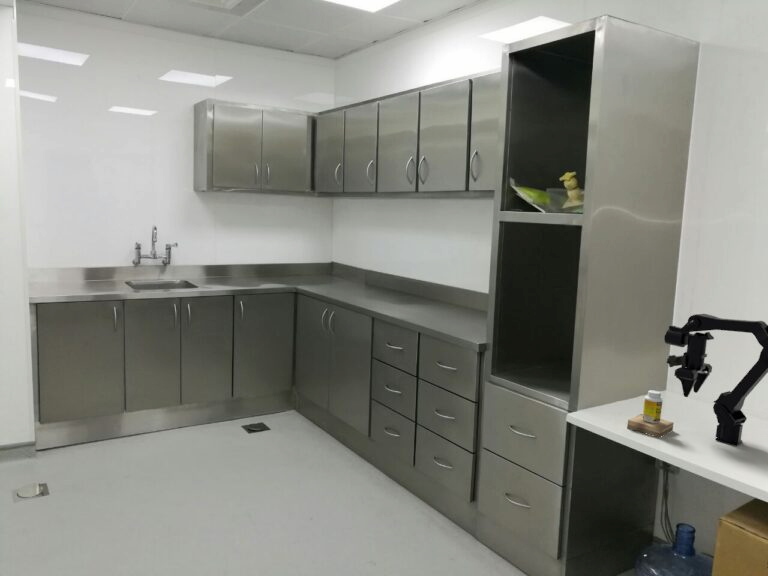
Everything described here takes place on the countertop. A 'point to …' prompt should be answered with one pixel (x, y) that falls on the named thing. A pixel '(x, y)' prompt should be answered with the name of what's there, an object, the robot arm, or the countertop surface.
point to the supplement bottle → (652, 407)
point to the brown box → (650, 426)
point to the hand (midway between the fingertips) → (690, 394)
